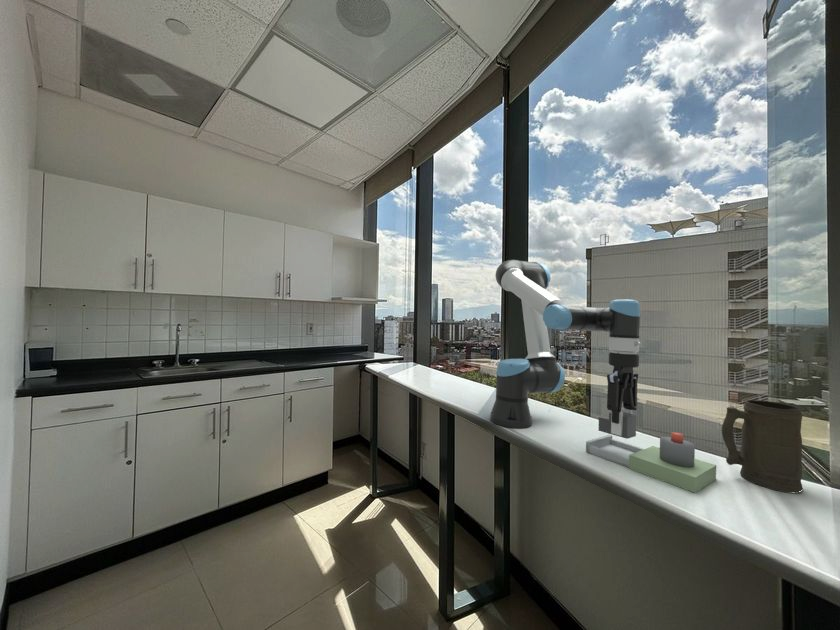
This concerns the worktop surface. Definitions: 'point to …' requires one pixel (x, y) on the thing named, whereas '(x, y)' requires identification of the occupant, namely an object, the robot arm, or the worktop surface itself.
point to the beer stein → (767, 444)
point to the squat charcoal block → (627, 426)
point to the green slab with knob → (659, 460)
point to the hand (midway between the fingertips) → (621, 432)
